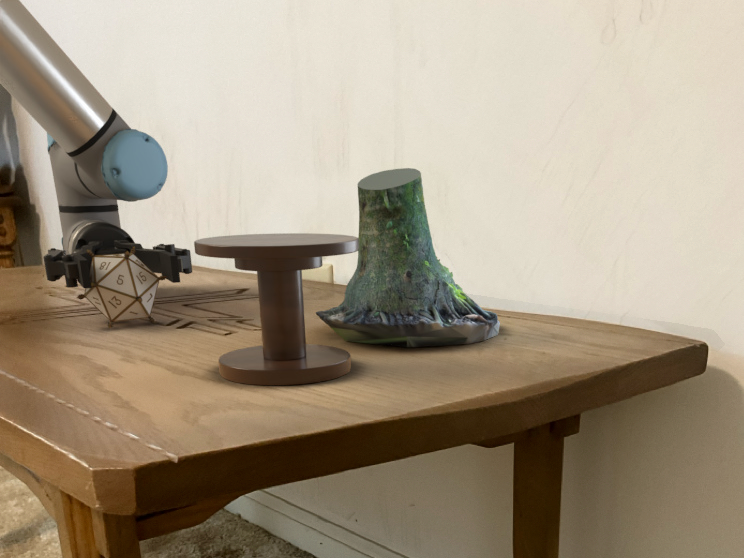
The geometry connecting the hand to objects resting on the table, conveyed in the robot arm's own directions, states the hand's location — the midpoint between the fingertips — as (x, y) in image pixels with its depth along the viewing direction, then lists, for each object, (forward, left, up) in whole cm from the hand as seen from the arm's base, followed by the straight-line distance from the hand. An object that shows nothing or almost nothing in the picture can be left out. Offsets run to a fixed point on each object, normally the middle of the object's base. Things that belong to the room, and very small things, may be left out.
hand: (131, 271), depth 87 cm
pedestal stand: (+26, +5, -6) cm, 27 cm away
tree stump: (+18, +23, -6) cm, 30 cm away
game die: (-5, 0, -6) cm, 8 cm away
